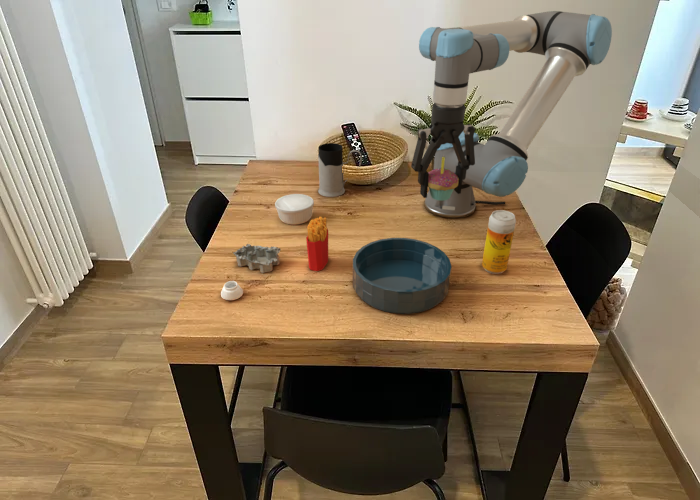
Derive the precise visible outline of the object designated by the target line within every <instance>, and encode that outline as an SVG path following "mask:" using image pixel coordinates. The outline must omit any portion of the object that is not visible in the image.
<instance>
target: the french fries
mask: <svg viewBox="0 0 700 500" xmlns="http://www.w3.org/2000/svg"><path fill="white" fill-rule="evenodd" d="M306 228H307V229H306V230H307V236H306V239H305V241H306V249H307V250H306V251H307V260H308V268H309V270H310V271H314V272H319V271H322V270H324V268H325V267H326V266H327V264H328V263H329V229H328V226H327V217H325V216H324V217H322V216H318V217H316V218H312V219H310V220H309V223H308V225H307V227H306Z"/></svg>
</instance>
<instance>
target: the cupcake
mask: <svg viewBox="0 0 700 500" xmlns="http://www.w3.org/2000/svg"><path fill="white" fill-rule="evenodd" d="M444 161H445V157H444V155H443V157H442V164H441V168H439V169H434V168H433V169H432V170H430V171H427V172H428V173H429V178H428V191H429V190H430V194H431V197H432V198H433V199H435V200H440V201H443V200H448V199H449V198H450V196H451V194H452V192H453V190H454V188H456V187H457V186H458V183H459V182H458V180H459V178H458V176H457V175H456V174H455V173H454V172H452V171H450V170H448V169H445V168H444Z"/></svg>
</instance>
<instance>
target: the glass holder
mask: <svg viewBox="0 0 700 500" xmlns="http://www.w3.org/2000/svg"><path fill="white" fill-rule="evenodd" d="M354 152H356V153H358V154H359V155H360V160H359V164H358V167H360V168H361V165H362V161H363V160H362V159H363V156H362V153H361V152H360V151H359V150H357V149H353V150H351V151H349V153H348V154H347V159H346V160H347V161H345V162H344V161H343V158H344V157H343V145H342V144H339V143H334V142H329V143H328V142H327V143H322V144H320V145H318V154H317V157H318V158H317V159H318V182H319V183H318V186H319V187H318V190H317V192H318V194H319V195H320V196H323V197H327V198H334V197H340V196H342V195H344V194H345V192H346V190H345V185H346V183H347V182H348V181H349V180H346V179H345V180H344V172H343V173H342V166H343V167H344V165H347V164H348V163H349V161H350V155H351V154H352V153H354Z"/></svg>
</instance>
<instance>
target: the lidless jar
mask: <svg viewBox="0 0 700 500" xmlns="http://www.w3.org/2000/svg"><path fill="white" fill-rule="evenodd" d="M243 294H244V289H243V288H242V287H241V286H240V284H238V282H237V281H235V280H228V281H226V282H225V283H224V284H223V287H222V289H221V291H220V297H221V298H222V299H223V300H226V301H236V300H237V299H239V298H241V297H242V296H243Z"/></svg>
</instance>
